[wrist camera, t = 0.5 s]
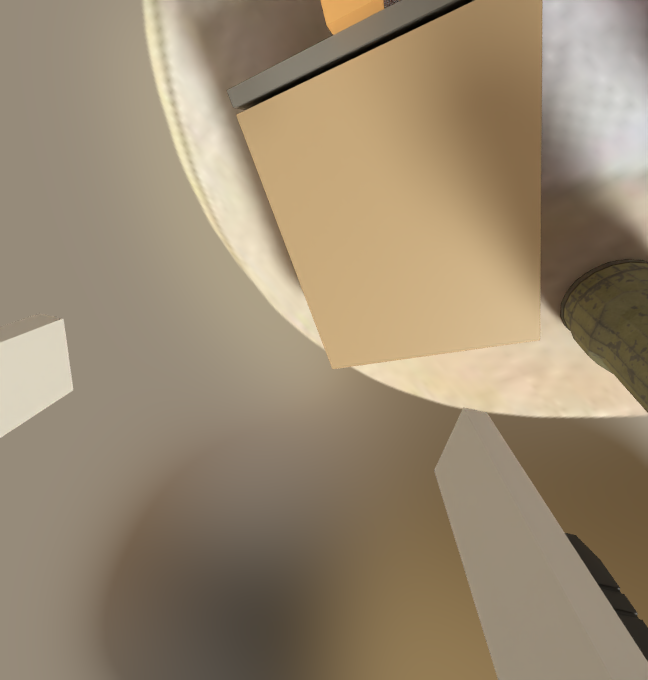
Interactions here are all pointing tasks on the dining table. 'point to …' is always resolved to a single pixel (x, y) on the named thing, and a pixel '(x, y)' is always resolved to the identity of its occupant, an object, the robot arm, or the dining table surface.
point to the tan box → (415, 187)
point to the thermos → (613, 321)
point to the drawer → (341, 42)
